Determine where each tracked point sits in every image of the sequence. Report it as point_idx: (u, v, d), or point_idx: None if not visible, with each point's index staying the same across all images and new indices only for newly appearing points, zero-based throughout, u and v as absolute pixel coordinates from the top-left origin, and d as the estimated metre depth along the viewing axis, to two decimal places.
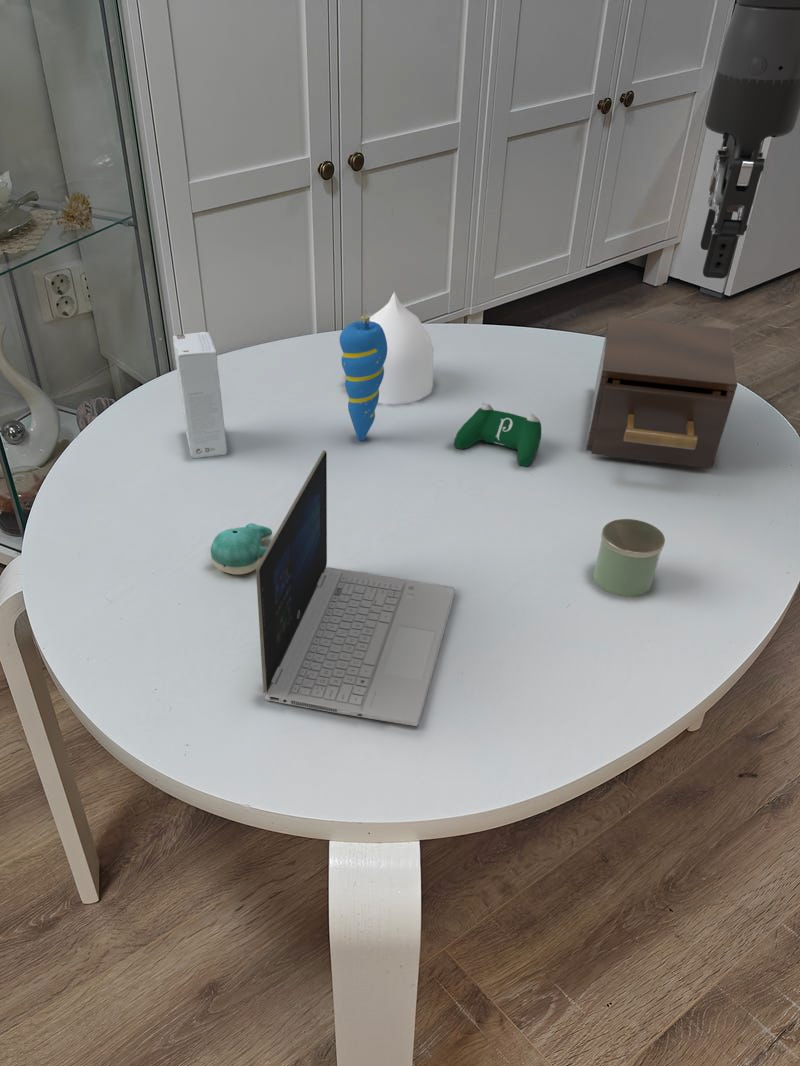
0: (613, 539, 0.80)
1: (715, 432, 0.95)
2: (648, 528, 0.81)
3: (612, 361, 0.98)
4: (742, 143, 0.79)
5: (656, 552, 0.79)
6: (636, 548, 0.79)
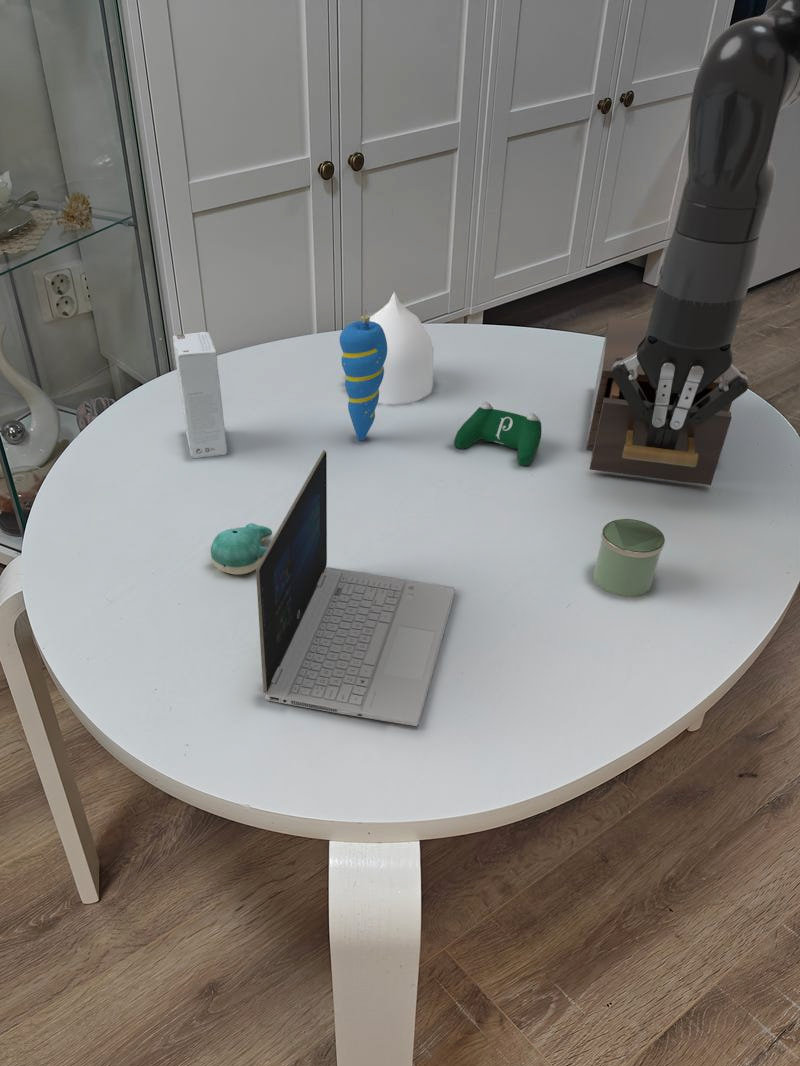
0: (613, 539, 0.80)
1: (716, 448, 0.92)
2: (648, 528, 0.81)
3: (612, 361, 0.98)
4: None
5: (656, 552, 0.79)
6: (636, 548, 0.79)
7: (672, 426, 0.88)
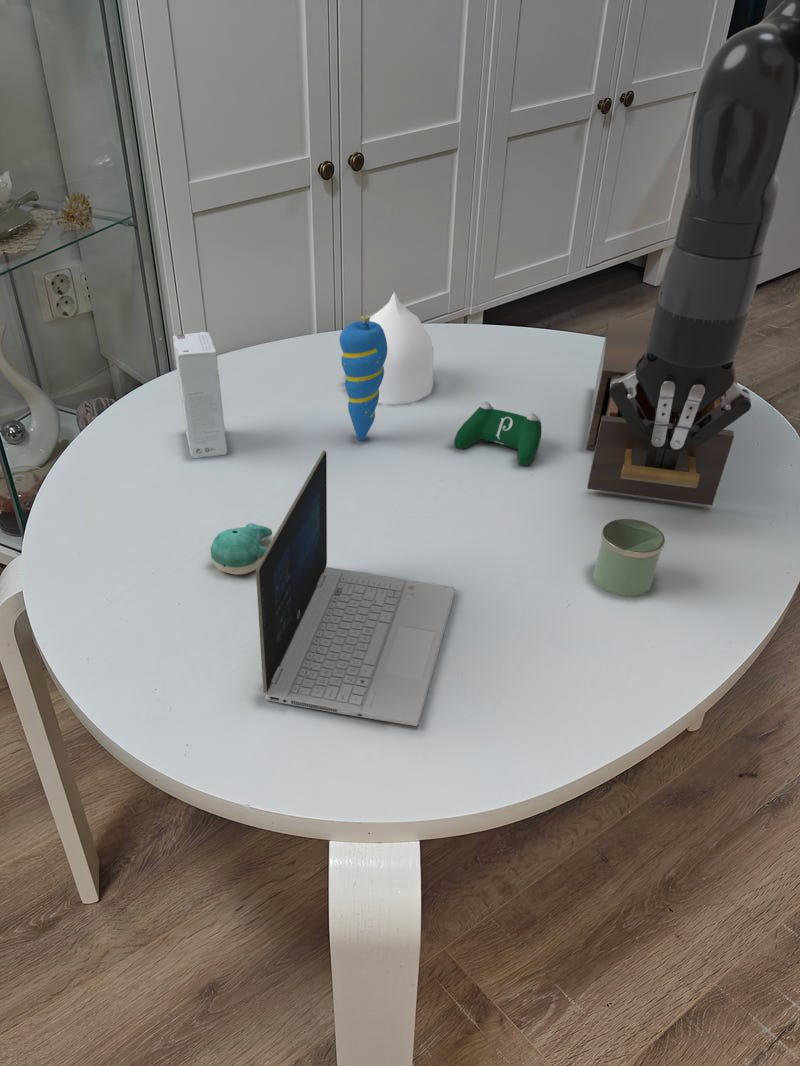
0: (613, 539, 0.80)
1: (718, 468, 0.89)
2: (648, 528, 0.81)
3: (612, 361, 0.98)
4: None
5: (656, 552, 0.79)
6: (636, 548, 0.79)
7: (672, 446, 0.85)
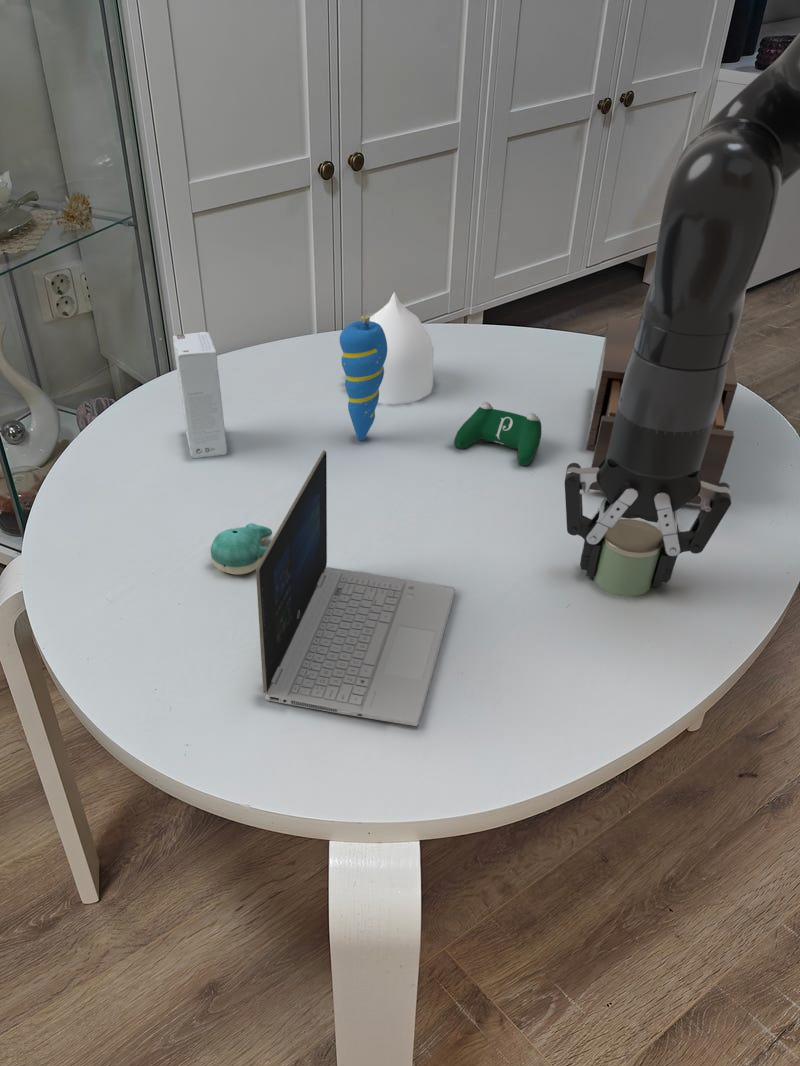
0: (613, 539, 0.80)
1: (718, 468, 0.89)
2: (648, 528, 0.81)
3: (612, 361, 0.98)
4: None
5: (656, 552, 0.79)
6: (636, 548, 0.79)
7: (668, 553, 0.79)
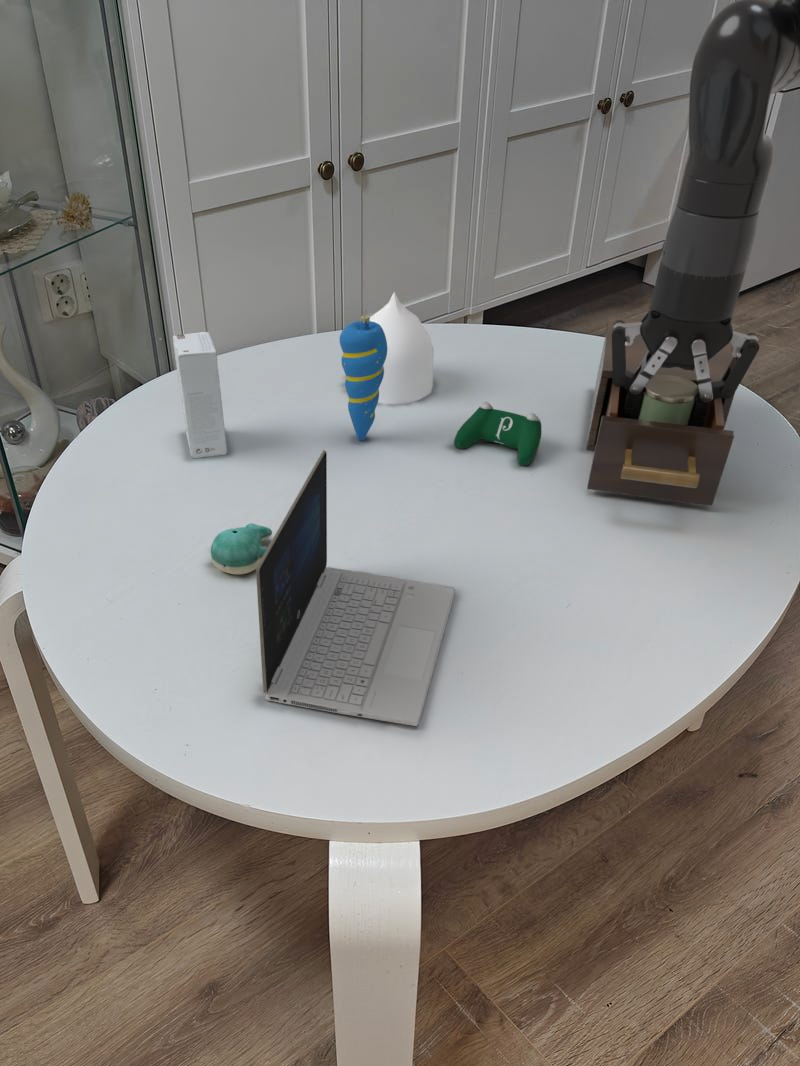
0: (653, 388, 0.91)
1: (718, 468, 0.89)
2: (683, 381, 0.92)
3: None
4: None
5: (692, 398, 0.90)
6: (674, 395, 0.90)
7: (702, 399, 0.90)
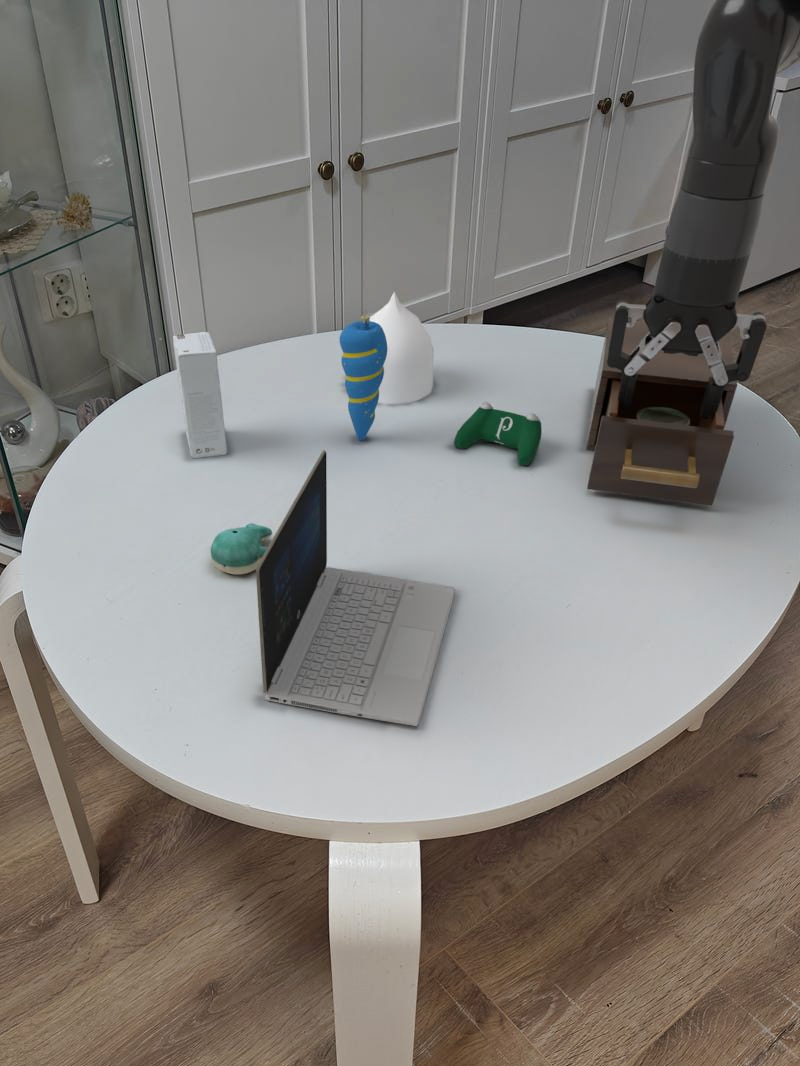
0: (646, 420, 0.93)
1: (718, 468, 0.89)
2: (675, 413, 0.94)
3: None
4: None
5: None
6: None
7: (717, 382, 0.89)
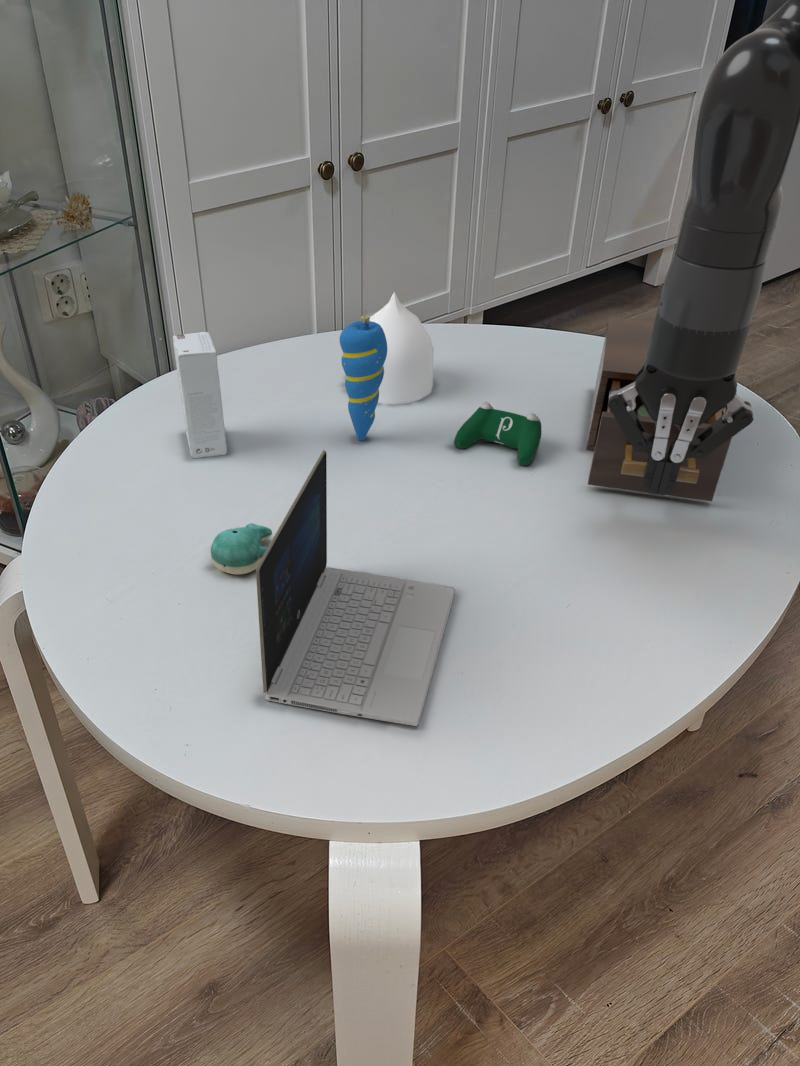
0: (646, 416, 0.94)
1: (718, 464, 0.90)
2: None
3: (612, 361, 0.98)
4: (645, 361, 0.80)
5: None
6: None
7: (673, 459, 0.83)
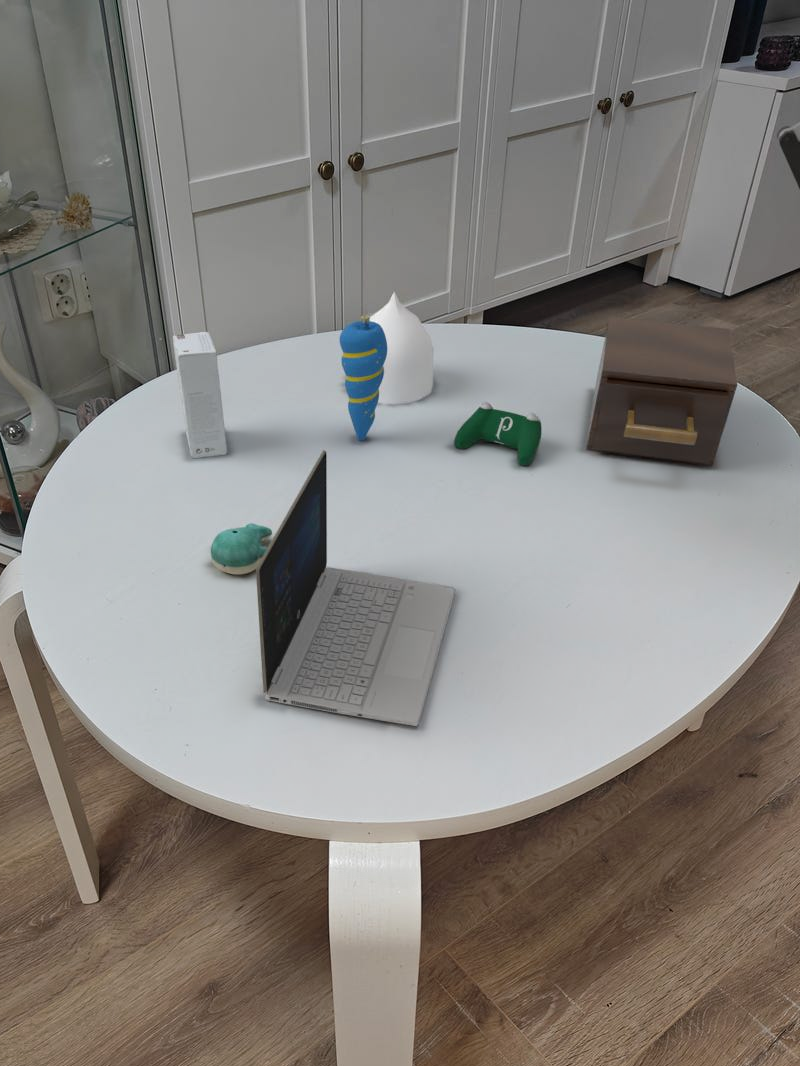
0: None
1: (715, 428, 0.96)
2: None
3: (612, 361, 0.98)
4: None
5: None
6: None
7: None
